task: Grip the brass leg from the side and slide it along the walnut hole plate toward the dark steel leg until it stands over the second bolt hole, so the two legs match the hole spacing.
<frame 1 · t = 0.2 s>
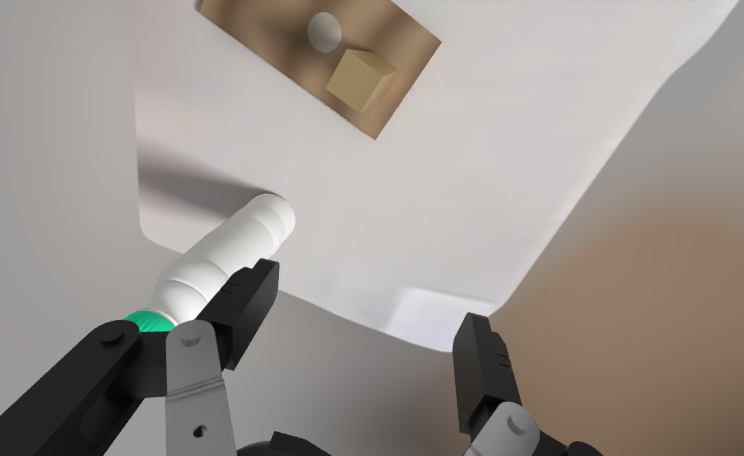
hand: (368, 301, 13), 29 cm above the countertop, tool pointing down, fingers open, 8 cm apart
water bottle: (274, 214, 46), on the countertop
brass leg: (368, 78, 28), point 8 cm above the countertop, slide at 0.0 cm
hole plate: (328, 33, 35), on the countertop
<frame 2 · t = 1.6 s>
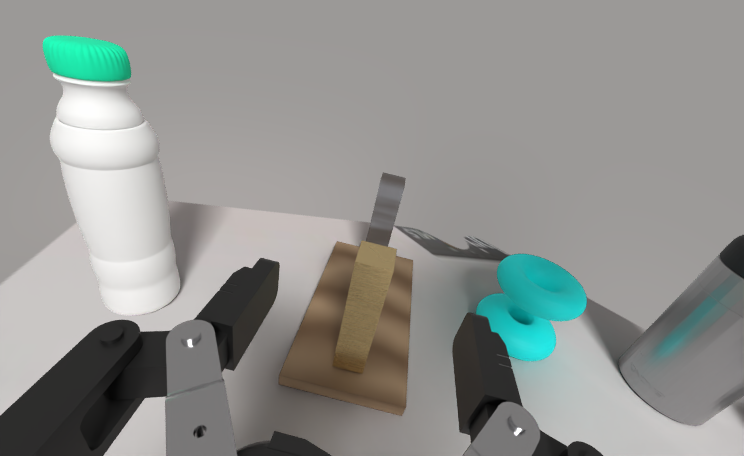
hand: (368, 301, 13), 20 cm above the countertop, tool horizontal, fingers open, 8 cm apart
water bottle: (144, 295, 36), on the countertop
donuts: (509, 333, 42), on the countertop
brass leg: (362, 311, 29), point 8 cm above the countertop, slide at 0.0 cm
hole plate: (359, 317, 39), on the countertop
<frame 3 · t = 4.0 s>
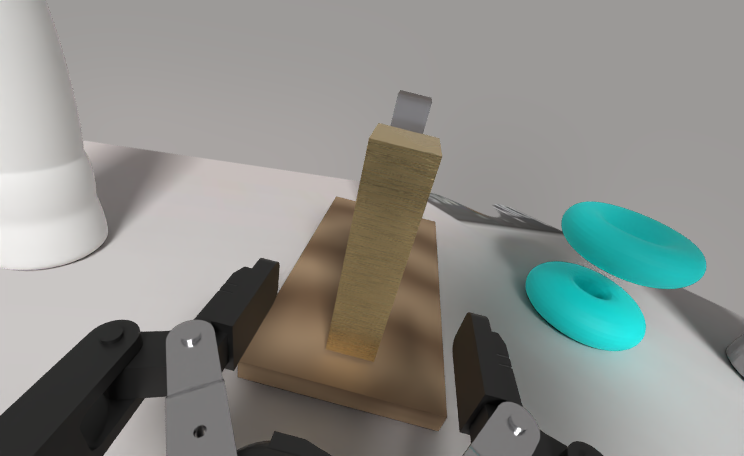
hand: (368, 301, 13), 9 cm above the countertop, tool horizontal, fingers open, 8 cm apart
water bottle: (51, 246, 24), on the countertop
donuts: (571, 314, 31), on the countertop
brass leg: (375, 255, 17), point 8 cm above the countertop, slide at 0.0 cm
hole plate: (366, 287, 28), on the countertop
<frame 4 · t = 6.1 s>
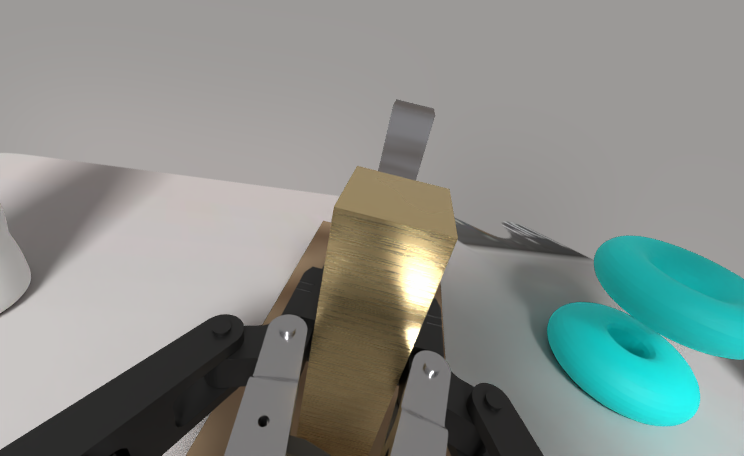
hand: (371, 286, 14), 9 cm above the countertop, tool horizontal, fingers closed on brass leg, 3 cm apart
donuts: (603, 369, 26), on the countertop
brass leg: (357, 348, 12), point 8 cm above the countertop, slide at 0.0 cm, touching gripper
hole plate: (354, 343, 22), on the countertop
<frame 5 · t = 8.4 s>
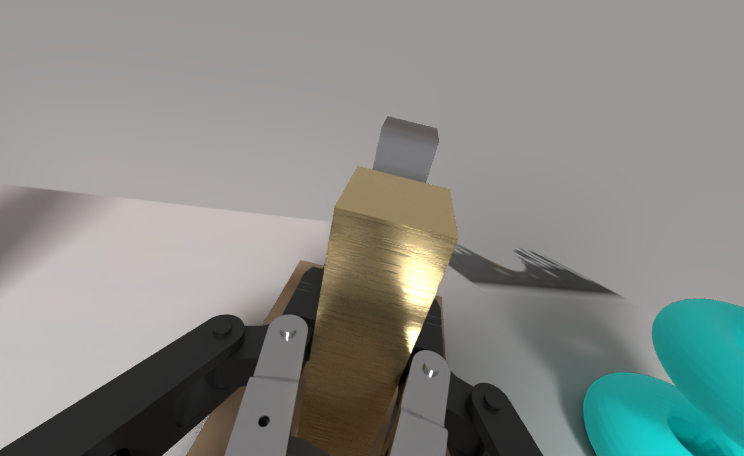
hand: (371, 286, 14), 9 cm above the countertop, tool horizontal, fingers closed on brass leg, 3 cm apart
brass leg: (357, 348, 12), point 8 cm above the countertop, slide at 7.0 cm, touching gripper
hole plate: (328, 453, 16), on the countertop
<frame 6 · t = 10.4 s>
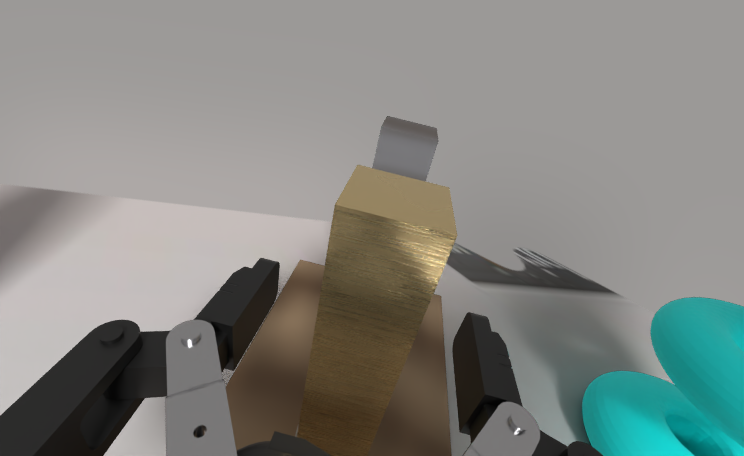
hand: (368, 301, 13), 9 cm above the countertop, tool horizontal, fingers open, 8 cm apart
brass leg: (358, 346, 12), point 8 cm above the countertop, slide at 7.0 cm
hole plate: (328, 451, 16), on the countertop
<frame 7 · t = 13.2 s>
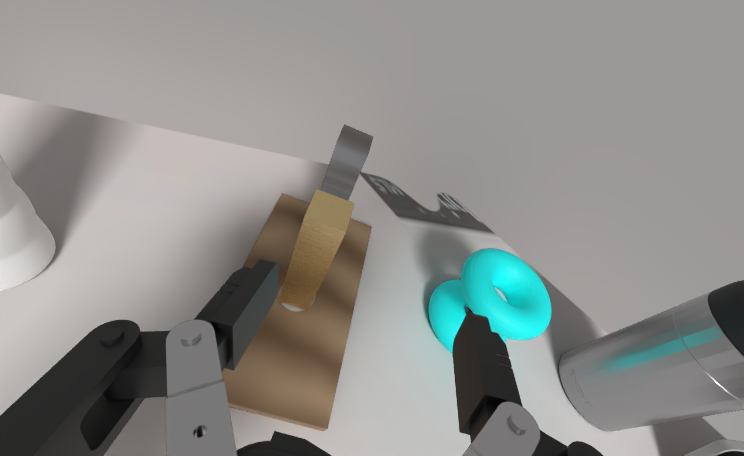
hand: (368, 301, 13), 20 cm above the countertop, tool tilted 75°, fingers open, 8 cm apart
water bottle: (2, 260, 27), on the countertop
donuts: (459, 323, 39), on the countertop
brass leg: (311, 258, 27), point 8 cm above the countertop, slide at 7.0 cm
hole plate: (294, 301, 33), on the countertop
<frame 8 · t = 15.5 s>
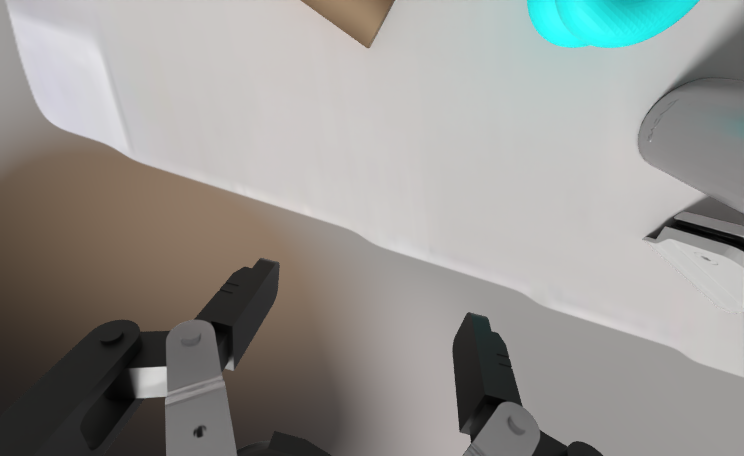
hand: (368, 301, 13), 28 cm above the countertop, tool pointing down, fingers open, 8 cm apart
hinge: (711, 254, 40), on the countertop
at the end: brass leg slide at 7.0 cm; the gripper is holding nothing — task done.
